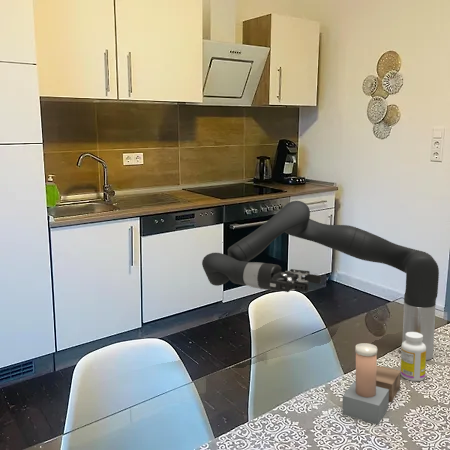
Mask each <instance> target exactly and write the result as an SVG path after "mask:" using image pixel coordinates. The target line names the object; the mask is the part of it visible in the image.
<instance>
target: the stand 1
mask: <svg viewBox="0 0 450 450" xmlns="http://www.w3.org/2000/svg"><path fill="white" fill-rule="evenodd" d="M389 403H390V402H389V389H385V388H381V387H377V386H376V395H375V396H373V397H362V396H359V395H358V394H356V380H354V381H352V383H351V384H350V386H349V387H348V388H347V389H346V391H345V392H344V393H343V395H342V415H344V416H347V417H350V418H354V419H357V420H361V421H365V422H367V423H370V424H375V425H378V426H379V425H380V423H381V422H382V419H383V418H384V416H385V414H386V413H387V411H388V409H389Z"/></svg>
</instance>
